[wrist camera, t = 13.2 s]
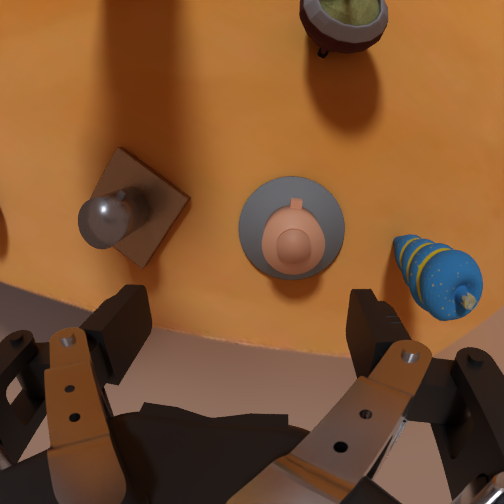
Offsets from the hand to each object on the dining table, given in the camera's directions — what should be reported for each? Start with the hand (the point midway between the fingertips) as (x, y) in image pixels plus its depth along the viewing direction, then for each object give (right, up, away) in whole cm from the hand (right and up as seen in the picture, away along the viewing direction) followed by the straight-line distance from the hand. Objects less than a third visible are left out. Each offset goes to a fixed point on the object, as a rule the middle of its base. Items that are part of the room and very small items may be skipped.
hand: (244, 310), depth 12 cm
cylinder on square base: (-12, +7, +19) cm, 23 cm away
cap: (+4, +4, +18) cm, 19 cm away
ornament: (+15, +4, +18) cm, 23 cm away
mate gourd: (+8, +23, +12) cm, 27 cm away
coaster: (+4, +4, +18) cm, 19 cm away
